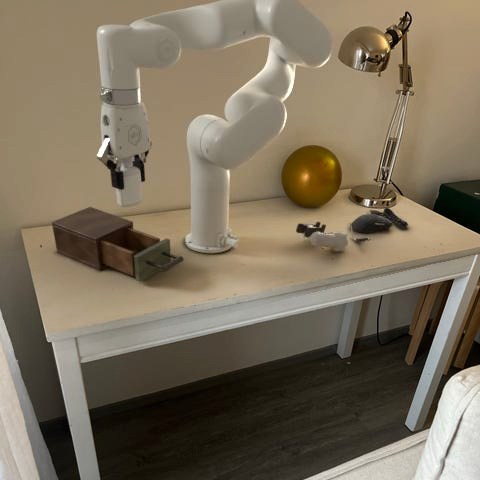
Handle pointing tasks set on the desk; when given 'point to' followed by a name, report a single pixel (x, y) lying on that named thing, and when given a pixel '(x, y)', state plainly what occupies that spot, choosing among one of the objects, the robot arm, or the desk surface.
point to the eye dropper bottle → (130, 185)
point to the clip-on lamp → (326, 236)
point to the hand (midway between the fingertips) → (128, 183)
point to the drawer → (137, 253)
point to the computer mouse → (376, 221)
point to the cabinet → (86, 234)
